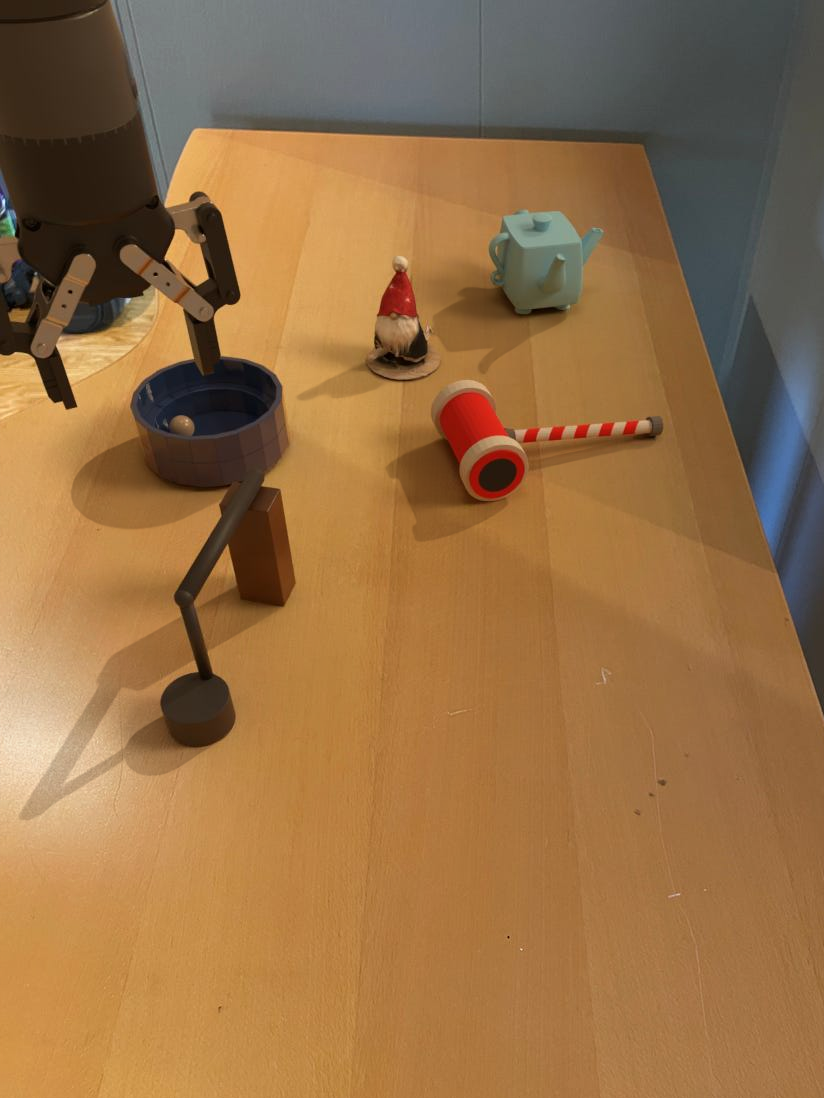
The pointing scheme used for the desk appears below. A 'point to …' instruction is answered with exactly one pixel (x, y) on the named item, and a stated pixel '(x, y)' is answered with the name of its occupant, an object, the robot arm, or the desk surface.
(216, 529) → the ladle
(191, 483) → the bowl
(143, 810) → the desk surface
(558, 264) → the teapot
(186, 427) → the bead
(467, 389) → the toy hammer
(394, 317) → the figurine
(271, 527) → the upright brown pillar
